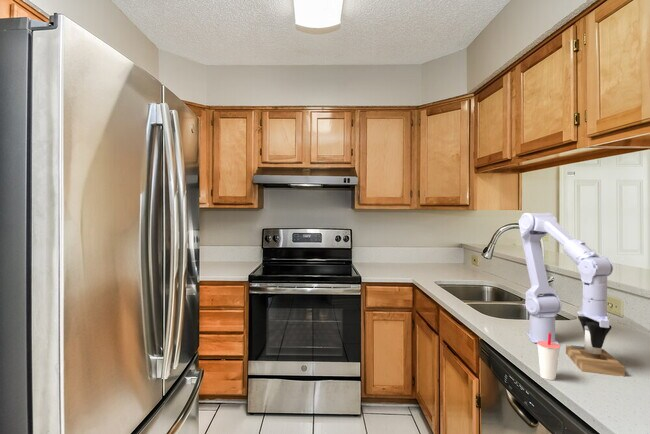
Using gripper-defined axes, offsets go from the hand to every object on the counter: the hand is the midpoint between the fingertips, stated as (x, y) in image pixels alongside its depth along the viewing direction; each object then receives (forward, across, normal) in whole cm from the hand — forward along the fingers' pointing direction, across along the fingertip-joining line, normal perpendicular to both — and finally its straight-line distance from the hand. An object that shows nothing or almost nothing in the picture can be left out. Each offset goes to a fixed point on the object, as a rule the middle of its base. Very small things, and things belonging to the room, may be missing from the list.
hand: (593, 344), depth 104 cm
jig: (+6, 0, 0) cm, 6 cm away
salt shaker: (+2, 0, 0) cm, 2 cm away
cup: (+6, +14, -15) cm, 21 cm away
